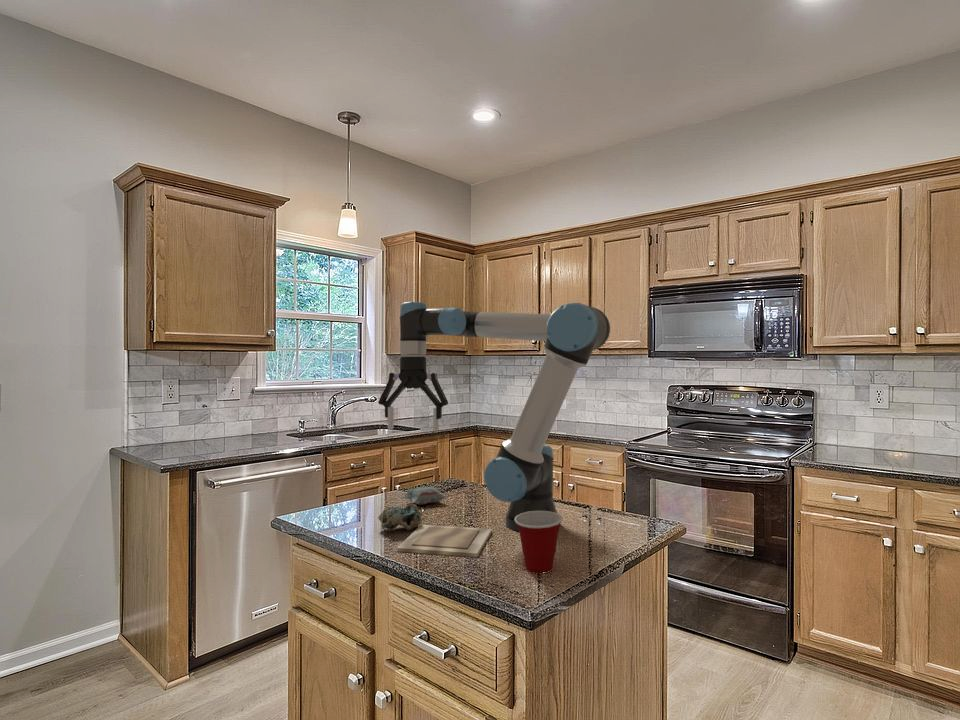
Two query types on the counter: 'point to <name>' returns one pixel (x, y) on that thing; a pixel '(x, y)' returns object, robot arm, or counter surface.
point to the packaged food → (425, 495)
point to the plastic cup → (538, 538)
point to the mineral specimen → (401, 517)
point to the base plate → (446, 540)
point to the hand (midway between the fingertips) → (413, 429)
